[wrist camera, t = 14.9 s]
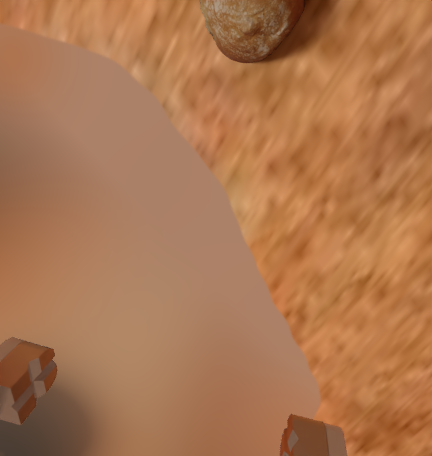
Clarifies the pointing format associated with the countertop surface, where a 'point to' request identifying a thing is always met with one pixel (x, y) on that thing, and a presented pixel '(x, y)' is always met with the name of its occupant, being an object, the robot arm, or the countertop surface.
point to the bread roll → (250, 25)
